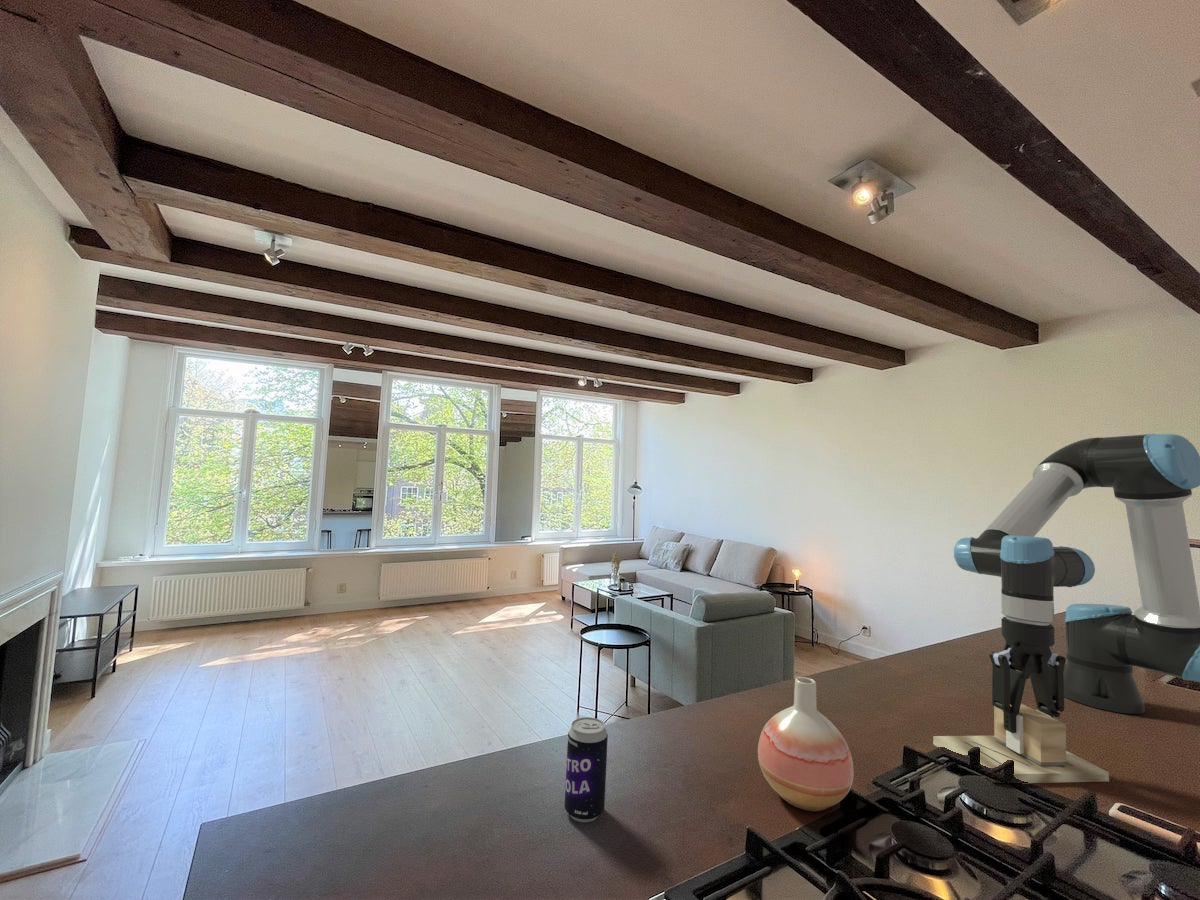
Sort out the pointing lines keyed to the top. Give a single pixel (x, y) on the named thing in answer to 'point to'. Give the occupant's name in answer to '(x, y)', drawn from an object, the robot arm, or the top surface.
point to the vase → (805, 754)
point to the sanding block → (1036, 736)
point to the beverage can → (586, 769)
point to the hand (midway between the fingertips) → (1028, 749)
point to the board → (1024, 761)
